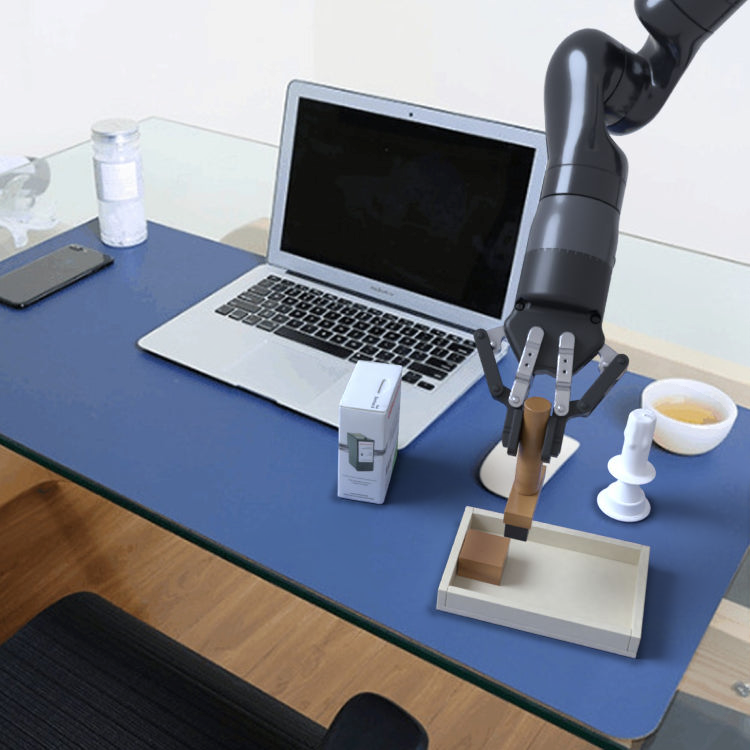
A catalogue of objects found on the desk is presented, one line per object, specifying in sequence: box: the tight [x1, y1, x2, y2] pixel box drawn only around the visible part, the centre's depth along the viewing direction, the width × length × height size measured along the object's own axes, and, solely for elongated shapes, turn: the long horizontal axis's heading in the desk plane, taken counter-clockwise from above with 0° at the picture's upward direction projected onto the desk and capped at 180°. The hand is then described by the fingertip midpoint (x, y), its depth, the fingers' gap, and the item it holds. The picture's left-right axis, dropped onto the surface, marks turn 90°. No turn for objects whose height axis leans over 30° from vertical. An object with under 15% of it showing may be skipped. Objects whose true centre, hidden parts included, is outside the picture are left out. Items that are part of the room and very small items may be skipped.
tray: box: [435, 505, 651, 659], centre depth 92 cm, size 18×12×3 cm, turn 73°
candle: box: [596, 408, 657, 523], centre depth 99 cm, size 5×5×12 cm
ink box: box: [337, 359, 403, 505], centre depth 101 cm, size 9×5×12 cm, turn 168°
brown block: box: [457, 529, 511, 586], centre depth 93 cm, size 4×4×2 cm
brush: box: [503, 396, 553, 542], centre depth 85 cm, size 2×7×12 cm, turn 162°
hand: (528, 457), depth 83 cm, fingers closed on brush, 2 cm apart
